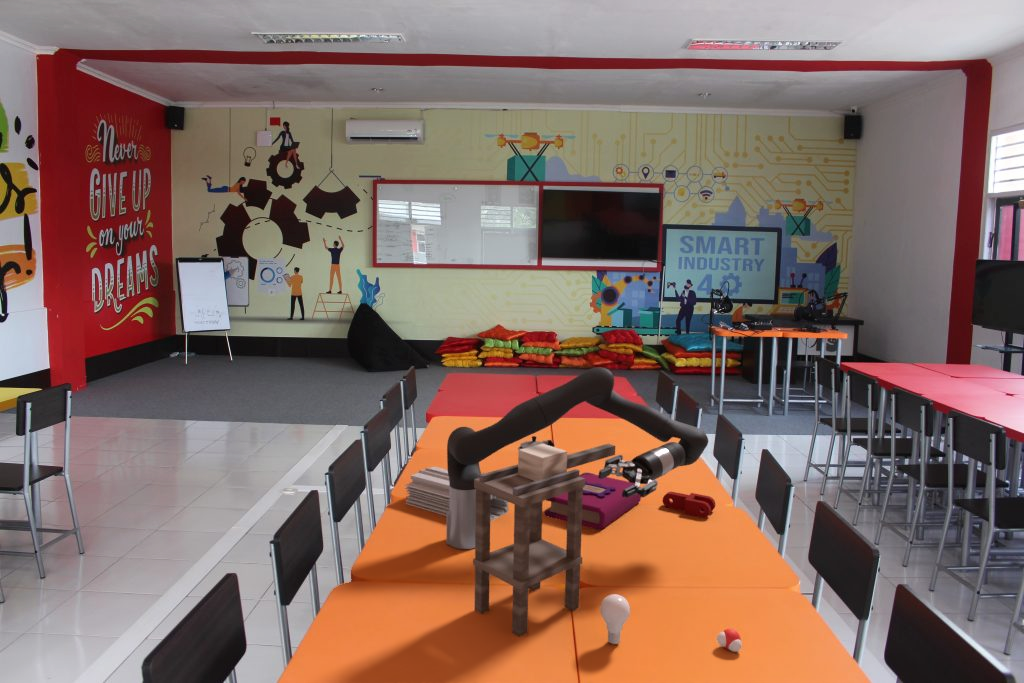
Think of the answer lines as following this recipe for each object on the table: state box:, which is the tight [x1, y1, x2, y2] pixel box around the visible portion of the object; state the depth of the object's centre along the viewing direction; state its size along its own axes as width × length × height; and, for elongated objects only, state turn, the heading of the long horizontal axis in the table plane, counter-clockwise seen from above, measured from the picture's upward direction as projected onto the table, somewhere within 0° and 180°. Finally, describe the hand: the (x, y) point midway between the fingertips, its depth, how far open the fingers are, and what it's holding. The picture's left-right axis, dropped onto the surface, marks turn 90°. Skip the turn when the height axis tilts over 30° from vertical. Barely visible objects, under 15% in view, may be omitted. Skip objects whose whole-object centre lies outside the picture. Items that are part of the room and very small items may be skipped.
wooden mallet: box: [517, 443, 616, 481], centre depth 182 cm, size 29×8×6 cm, turn 133°
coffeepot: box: [517, 435, 555, 450], centre depth 260 cm, size 15×9×18 cm, turn 125°
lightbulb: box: [600, 593, 631, 645], centre depth 162 cm, size 6×6×11 cm
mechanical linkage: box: [662, 491, 716, 519], centre depth 241 cm, size 16×7×5 cm, turn 60°
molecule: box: [716, 628, 743, 653], centre depth 162 cm, size 5×5×4 cm
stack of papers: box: [404, 466, 509, 522], centre depth 239 cm, size 14×31×10 cm, turn 56°
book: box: [544, 472, 642, 531], centre depth 240 cm, size 21×28×8 cm
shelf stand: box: [472, 464, 585, 638], centre depth 175 cm, size 20×16×34 cm
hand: (611, 484), depth 192 cm, fingers open, 8 cm apart
